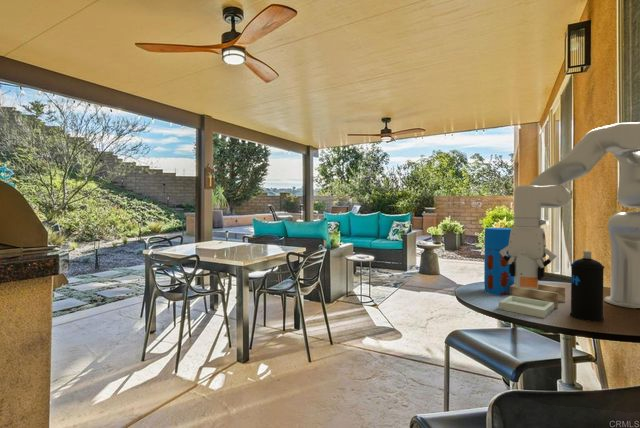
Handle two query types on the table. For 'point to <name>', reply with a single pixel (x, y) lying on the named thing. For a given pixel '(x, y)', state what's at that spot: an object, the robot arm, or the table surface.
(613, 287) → the robot arm
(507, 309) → the tray
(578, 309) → the aerosol can
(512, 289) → the bay
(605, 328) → the table surface
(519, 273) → the skincare box
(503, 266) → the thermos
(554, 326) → the table surface
